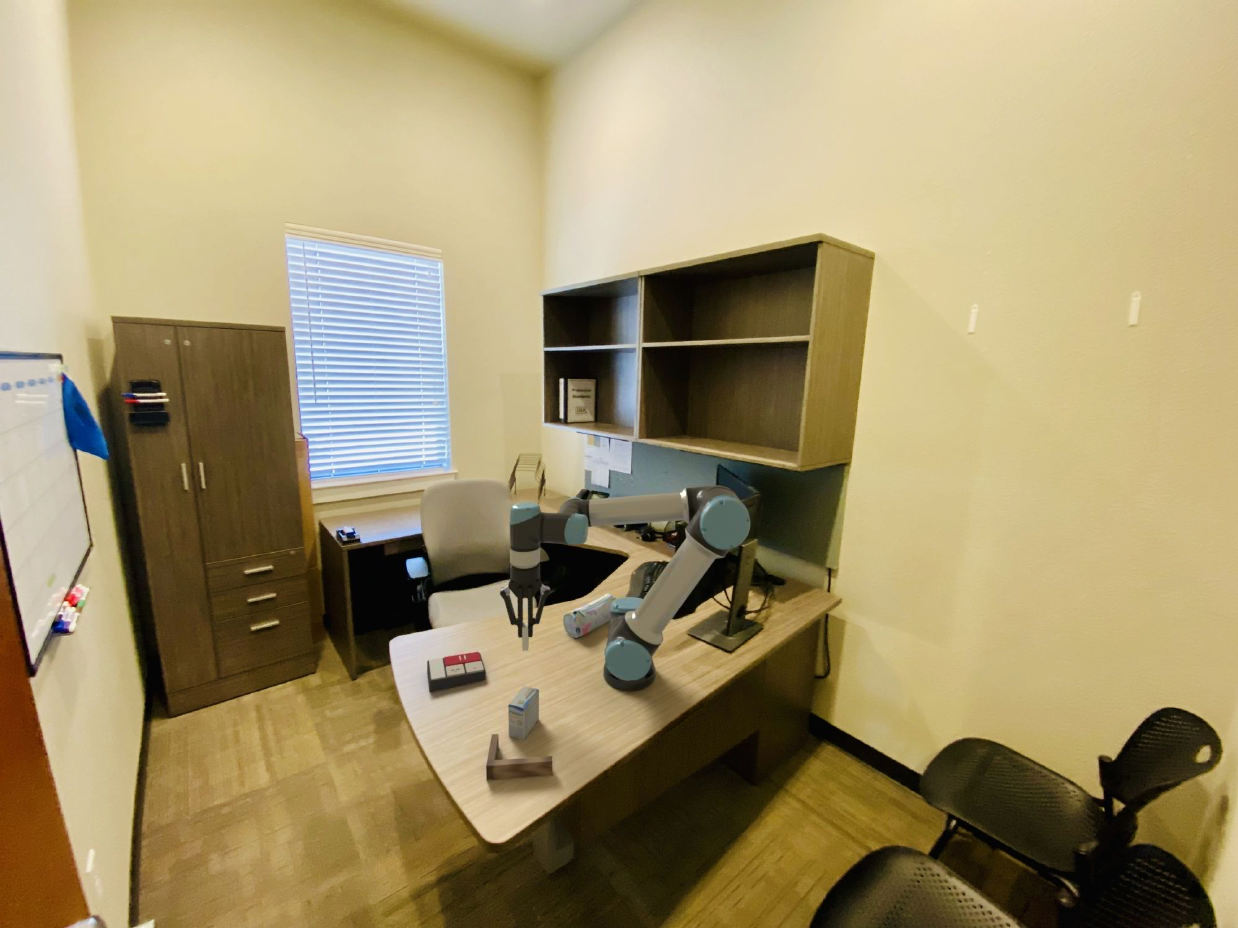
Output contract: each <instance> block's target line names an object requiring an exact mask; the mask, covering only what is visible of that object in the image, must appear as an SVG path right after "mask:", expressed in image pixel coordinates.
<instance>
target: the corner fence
mask: <svg viewBox="0 0 1238 928" xmlns="http://www.w3.org/2000/svg"><path fill="white" fill-rule="evenodd" d="M499 737H500V735H499V733H492V734H491V737H490V742H489V749H488V754H487V759H486V765H485V767H486V768H485V769H486V770H485V771H486V772H485V773H486V781H495V780H496V781H497V780H508V779H509V780H510V779H522V778H535V777H545V776H546V777H547V776H553V755H548V756H547V755H545V756H534V757H533V756H532V757H531V756H530V757H522V758H521V757H519V758H509V759H507V758H506V759H504V758H503V759H498V755H499V745H500V744H499V740H500V739H499Z"/></svg>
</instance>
